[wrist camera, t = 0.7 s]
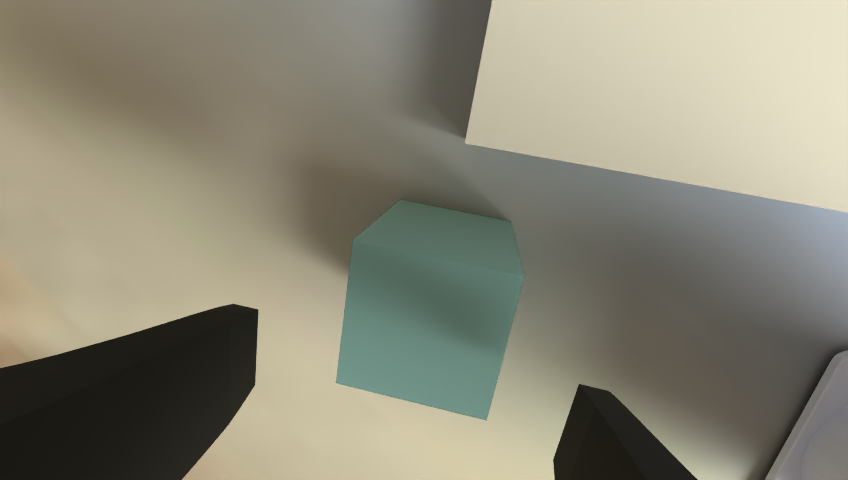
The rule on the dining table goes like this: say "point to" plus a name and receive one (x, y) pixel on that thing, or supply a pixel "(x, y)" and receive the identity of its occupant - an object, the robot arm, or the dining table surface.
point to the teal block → (430, 307)
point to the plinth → (674, 91)
